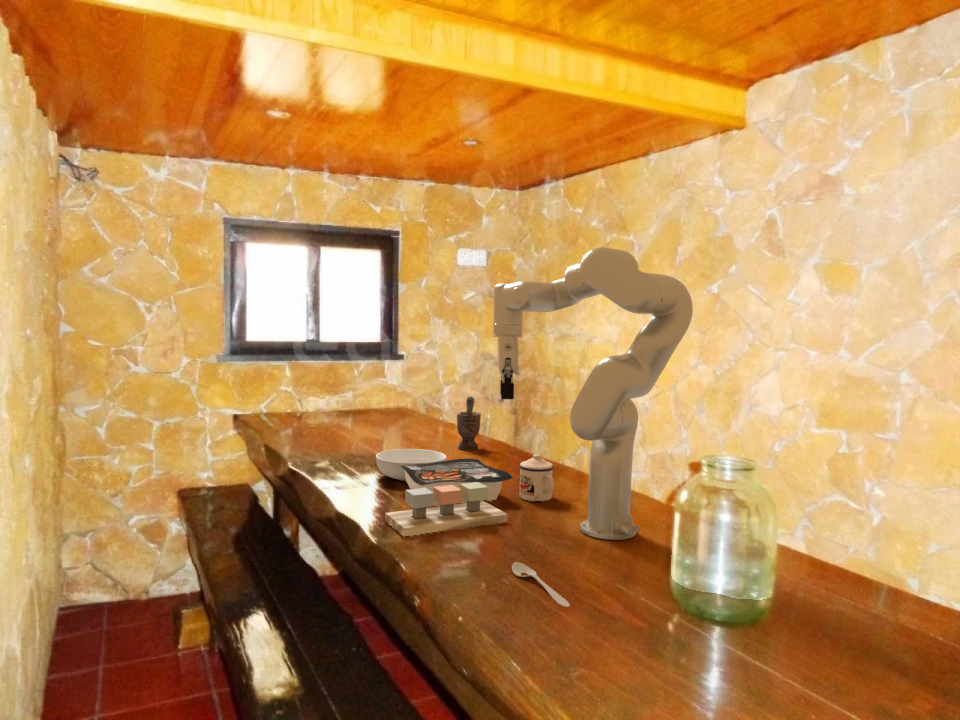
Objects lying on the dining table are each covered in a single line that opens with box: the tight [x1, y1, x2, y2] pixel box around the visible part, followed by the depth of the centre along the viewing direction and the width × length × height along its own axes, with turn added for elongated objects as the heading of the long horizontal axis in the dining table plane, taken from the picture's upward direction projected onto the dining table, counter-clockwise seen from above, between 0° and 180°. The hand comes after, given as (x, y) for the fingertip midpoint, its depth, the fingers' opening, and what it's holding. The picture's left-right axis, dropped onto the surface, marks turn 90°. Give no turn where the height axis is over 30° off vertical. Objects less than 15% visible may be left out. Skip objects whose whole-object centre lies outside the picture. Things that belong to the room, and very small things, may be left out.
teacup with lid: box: [519, 453, 555, 502], centre depth 175 cm, size 12×9×12 cm
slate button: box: [404, 488, 434, 518], centre depth 150 cm, size 5×5×6 cm
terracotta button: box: [433, 485, 462, 515], centre depth 154 cm, size 5×5×6 cm
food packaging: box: [397, 458, 514, 506], centre depth 177 cm, size 25×8×23 cm
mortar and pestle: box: [456, 396, 482, 451], centre depth 237 cm, size 12×9×20 cm
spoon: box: [511, 561, 570, 608], centre depth 118 cm, size 4×21×2 cm, turn 26°
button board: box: [384, 500, 508, 538], centre depth 154 cm, size 12×26×2 cm, turn 118°
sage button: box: [460, 482, 488, 511], centre depth 157 cm, size 5×5×6 cm
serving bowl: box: [375, 448, 447, 482], centre depth 194 cm, size 21×21×7 cm
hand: (506, 397), depth 171 cm, fingers open, 9 cm apart
